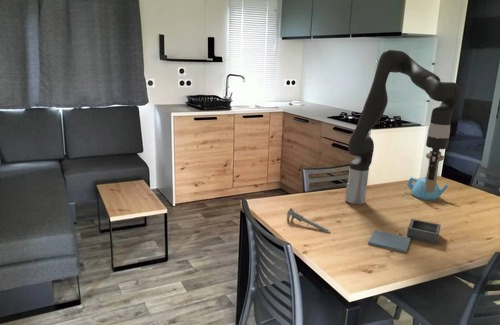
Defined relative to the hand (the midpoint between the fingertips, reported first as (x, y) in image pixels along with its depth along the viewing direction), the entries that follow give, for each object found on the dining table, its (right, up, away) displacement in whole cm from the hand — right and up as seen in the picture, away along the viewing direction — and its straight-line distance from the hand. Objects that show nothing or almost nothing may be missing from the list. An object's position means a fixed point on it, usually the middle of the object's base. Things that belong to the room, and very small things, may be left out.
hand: (431, 178), depth 160 cm
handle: (0, -6, +2) cm, 6 cm away
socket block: (0, -24, +7) cm, 25 cm away
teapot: (+22, -12, +56) cm, 61 cm away
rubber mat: (-16, -25, 0) cm, 30 cm away
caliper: (-47, -21, +12) cm, 53 cm away
